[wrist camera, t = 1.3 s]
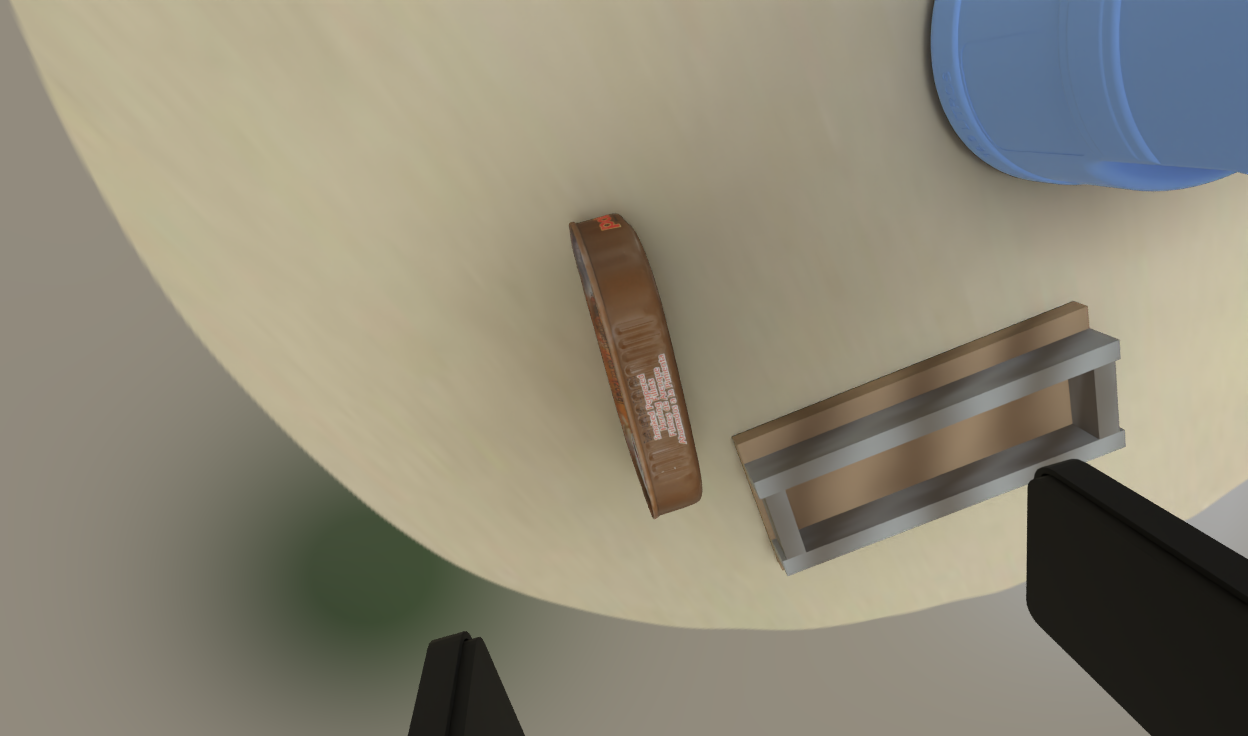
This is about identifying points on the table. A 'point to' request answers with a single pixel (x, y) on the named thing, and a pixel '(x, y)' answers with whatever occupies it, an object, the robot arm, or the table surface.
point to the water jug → (1097, 88)
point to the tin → (638, 360)
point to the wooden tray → (934, 437)
